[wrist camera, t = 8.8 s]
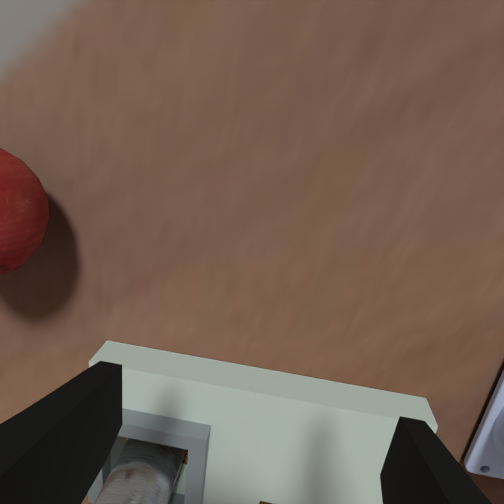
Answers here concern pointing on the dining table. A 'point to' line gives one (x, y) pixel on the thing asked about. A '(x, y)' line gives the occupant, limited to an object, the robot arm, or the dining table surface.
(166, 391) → the board
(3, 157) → the onion
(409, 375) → the dining table surface
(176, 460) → the silver and gold cylinder
